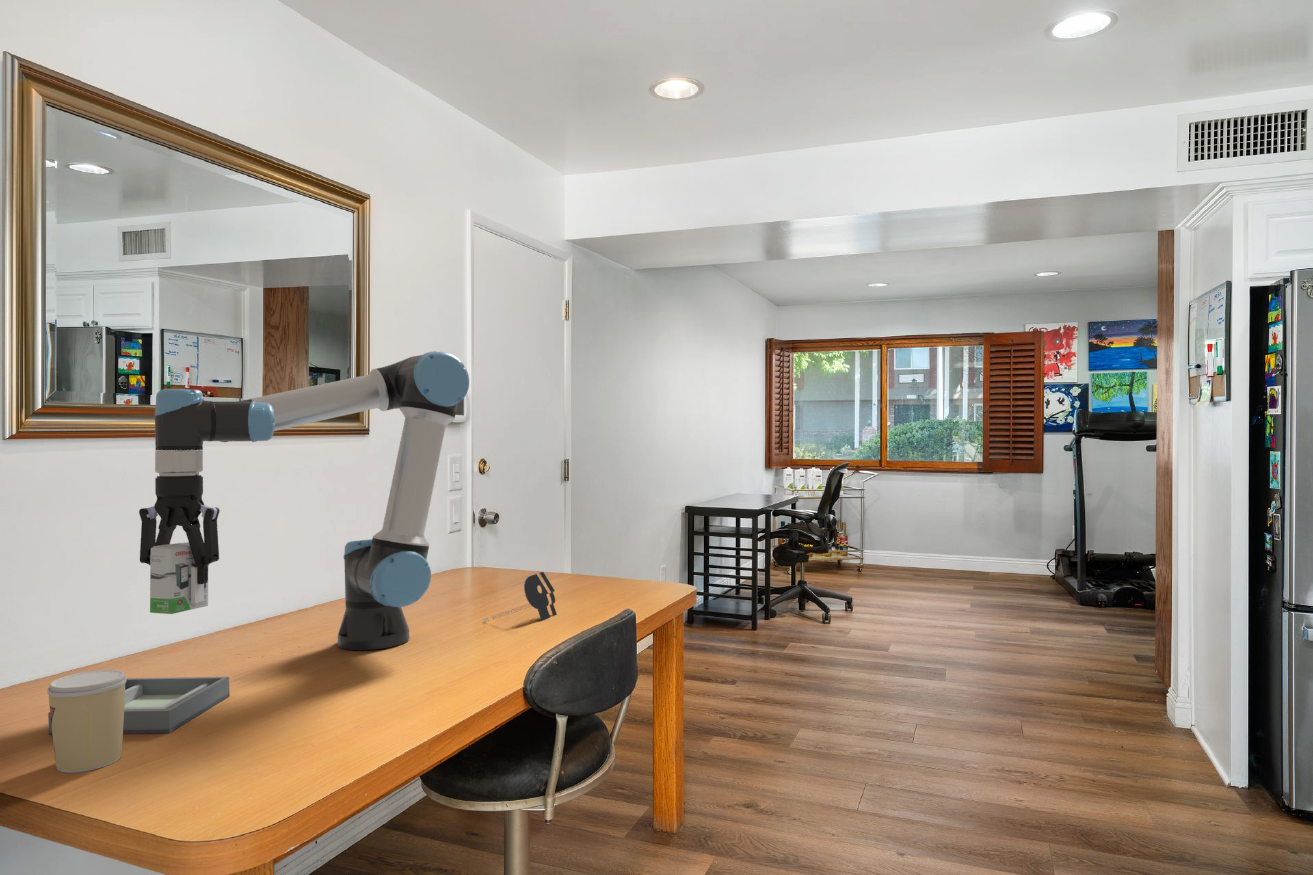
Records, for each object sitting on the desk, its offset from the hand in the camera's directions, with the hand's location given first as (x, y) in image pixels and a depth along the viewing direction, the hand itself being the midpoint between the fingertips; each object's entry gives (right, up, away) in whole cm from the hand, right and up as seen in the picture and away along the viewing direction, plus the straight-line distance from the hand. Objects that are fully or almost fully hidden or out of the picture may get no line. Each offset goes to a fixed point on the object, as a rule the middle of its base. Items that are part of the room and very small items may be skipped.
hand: (179, 601), depth 150 cm
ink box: (0, -2, 0) cm, 2 cm away
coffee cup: (+5, -17, -32) cm, 36 cm away
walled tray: (+1, -17, -12) cm, 20 cm away
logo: (+56, -15, +55) cm, 80 cm away
